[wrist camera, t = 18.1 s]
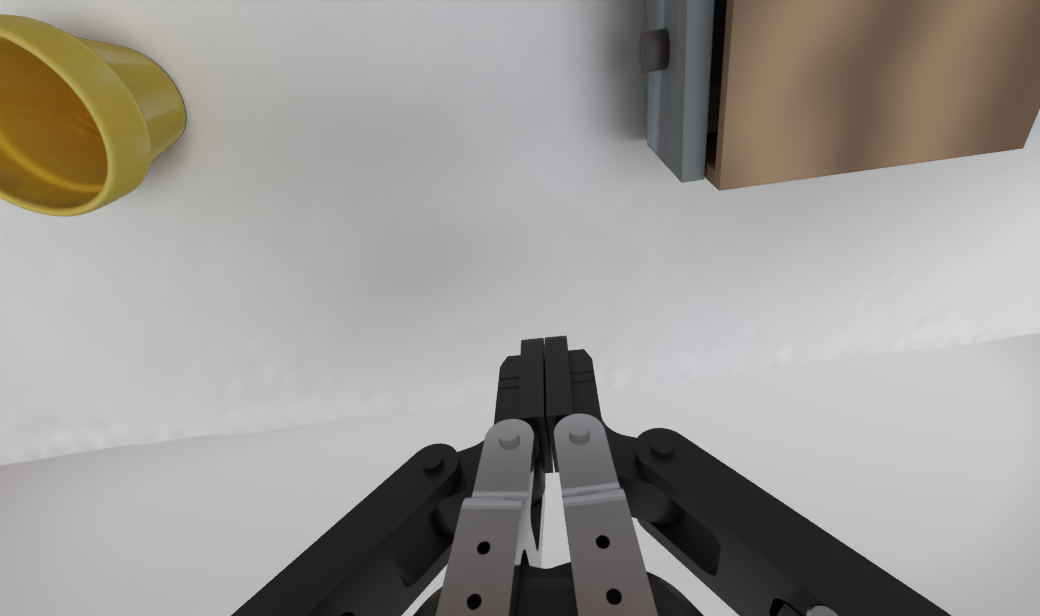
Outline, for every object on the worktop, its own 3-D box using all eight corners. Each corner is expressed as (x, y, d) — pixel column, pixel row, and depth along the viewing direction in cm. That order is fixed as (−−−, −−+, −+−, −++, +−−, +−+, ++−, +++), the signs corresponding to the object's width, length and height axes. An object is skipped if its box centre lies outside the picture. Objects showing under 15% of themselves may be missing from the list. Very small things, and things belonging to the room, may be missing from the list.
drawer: (911, -134, 25) (1080, -203, 17) (857, 112, 31) (961, 142, 24) (624, -76, 26) (661, -115, 19) (630, 147, 33) (659, 185, 25)
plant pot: (240, 163, 35) (150, 208, 27) (118, 179, 36) (-6, 227, 28) (168, 3, 30) (26, -3, 21) (26, 27, 31) (-161, 31, 22)
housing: (923, -134, 25) (1182, -236, 15) (867, 106, 32) (1022, 148, 22) (665, -82, 27) (744, -143, 17) (663, 138, 33) (719, 190, 23)
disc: (694, -25, 27) (704, -28, 25) (809, -45, 26) (828, -50, 24) (688, 94, 30) (697, 98, 28) (790, 78, 29) (806, 82, 28)
